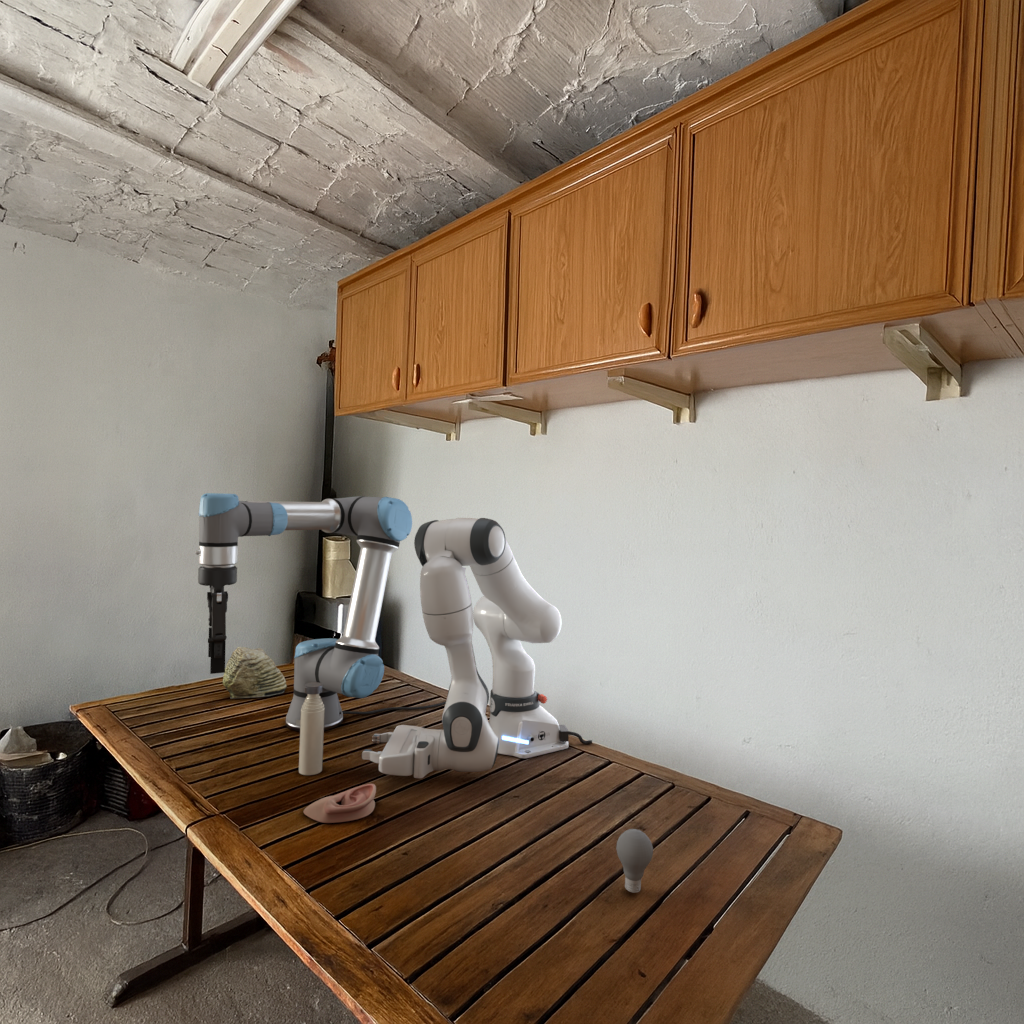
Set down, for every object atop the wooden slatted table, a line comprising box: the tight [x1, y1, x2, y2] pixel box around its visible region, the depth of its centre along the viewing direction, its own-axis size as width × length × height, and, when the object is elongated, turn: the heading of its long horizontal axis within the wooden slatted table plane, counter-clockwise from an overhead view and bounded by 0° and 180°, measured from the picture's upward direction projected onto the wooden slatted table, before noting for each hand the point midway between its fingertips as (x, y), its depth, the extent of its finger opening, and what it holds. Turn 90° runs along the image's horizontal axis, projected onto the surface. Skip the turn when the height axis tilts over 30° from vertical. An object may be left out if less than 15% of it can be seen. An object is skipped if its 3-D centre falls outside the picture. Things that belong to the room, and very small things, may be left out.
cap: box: [305, 682, 322, 694], centre depth 146 cm, size 4×4×2 cm
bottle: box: [298, 694, 325, 776], centre depth 146 cm, size 5×5×20 cm
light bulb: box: [615, 828, 654, 894], centre depth 106 cm, size 6×6×10 cm
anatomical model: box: [302, 783, 377, 824], centre depth 128 cm, size 13×4×12 cm
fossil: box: [222, 646, 288, 699], centre depth 198 cm, size 9×18×15 cm, turn 132°
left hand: (216, 664), depth 136 cm, fingers open, 13 cm apart
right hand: (367, 746), depth 146 cm, fingers open, 8 cm apart
